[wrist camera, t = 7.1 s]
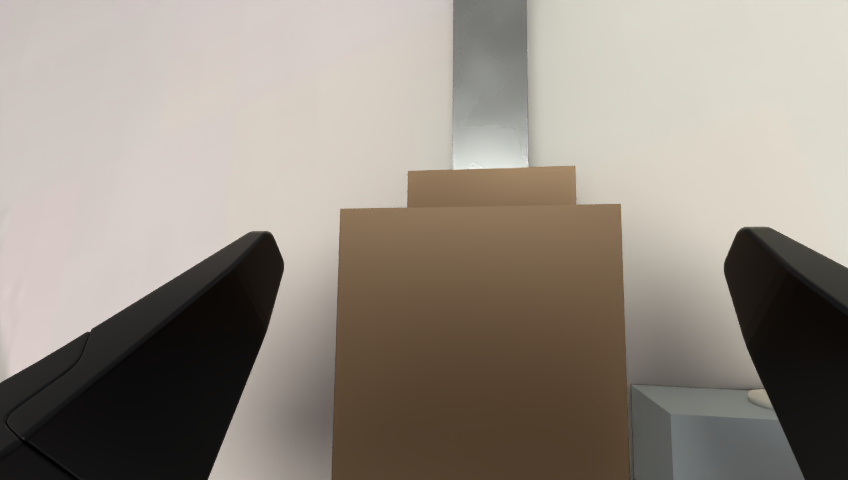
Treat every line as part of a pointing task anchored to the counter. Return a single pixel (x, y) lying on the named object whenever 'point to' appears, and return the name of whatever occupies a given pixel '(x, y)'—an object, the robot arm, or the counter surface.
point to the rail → (490, 84)
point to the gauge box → (708, 435)
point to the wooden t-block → (481, 332)
